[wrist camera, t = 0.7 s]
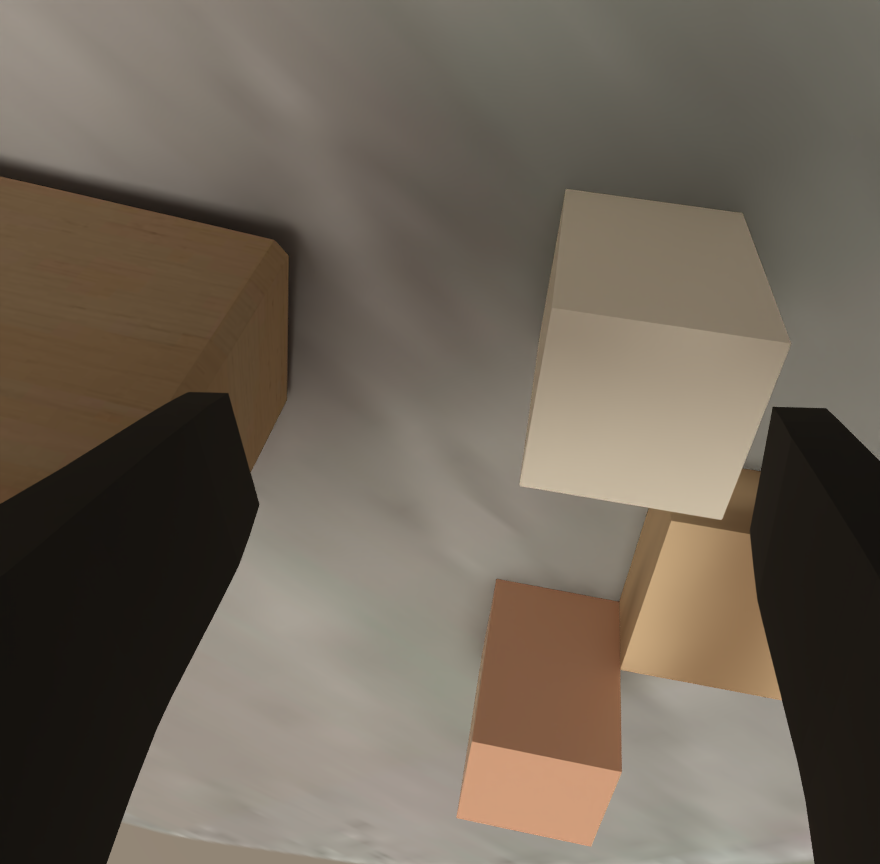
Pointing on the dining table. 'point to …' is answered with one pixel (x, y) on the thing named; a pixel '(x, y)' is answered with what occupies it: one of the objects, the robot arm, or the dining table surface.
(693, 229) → the cream cube
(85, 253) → the decorative block
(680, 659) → the oak block
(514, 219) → the dining table surface
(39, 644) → the robot arm
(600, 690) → the terracotta cube
